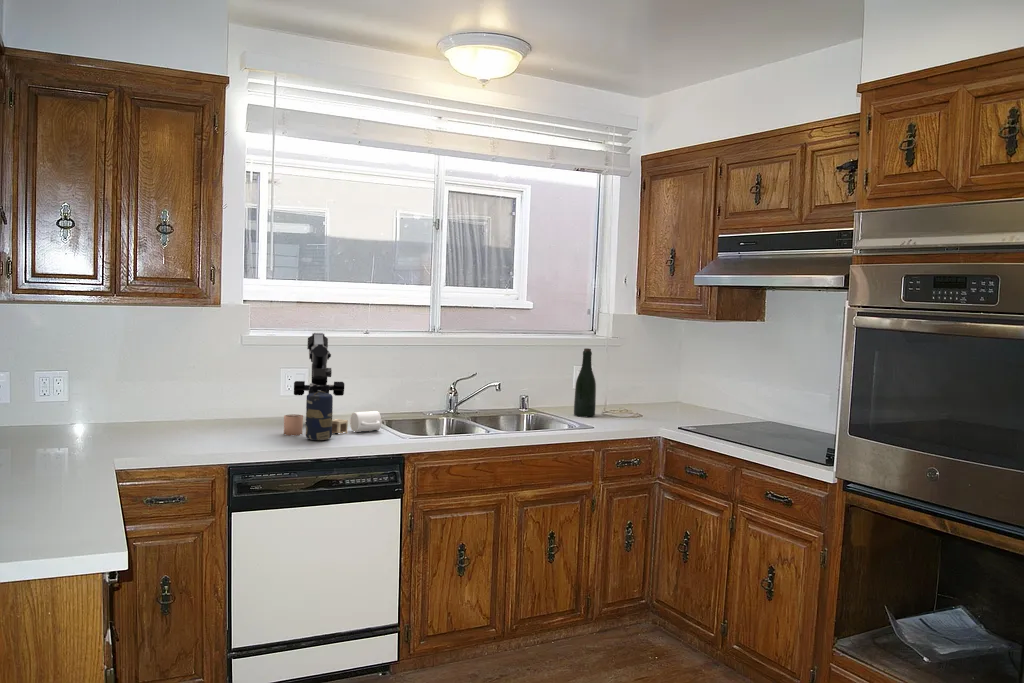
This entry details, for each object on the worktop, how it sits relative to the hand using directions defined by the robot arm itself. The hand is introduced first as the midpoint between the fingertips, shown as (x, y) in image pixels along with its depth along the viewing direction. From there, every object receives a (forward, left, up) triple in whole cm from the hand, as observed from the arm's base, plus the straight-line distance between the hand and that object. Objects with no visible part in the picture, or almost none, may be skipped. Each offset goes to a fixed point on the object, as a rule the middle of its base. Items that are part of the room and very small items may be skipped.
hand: (319, 405), depth 288 cm
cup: (-12, -1, -12) cm, 17 cm away
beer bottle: (+54, +126, -12) cm, 138 cm away
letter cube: (-1, +12, -12) cm, 17 cm away
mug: (+7, +21, -12) cm, 25 cm away
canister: (+3, -3, -12) cm, 13 cm away
